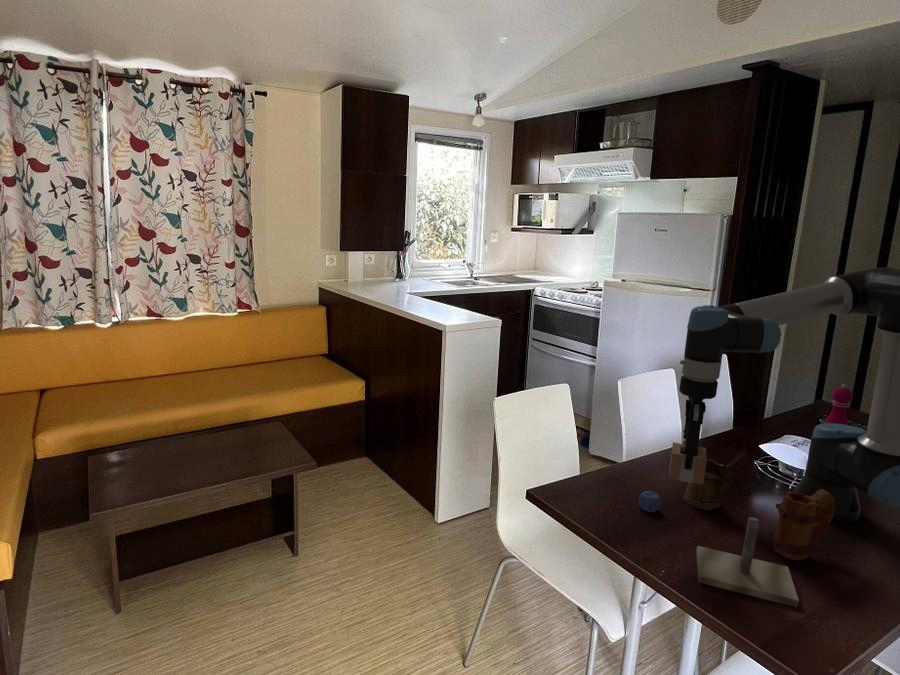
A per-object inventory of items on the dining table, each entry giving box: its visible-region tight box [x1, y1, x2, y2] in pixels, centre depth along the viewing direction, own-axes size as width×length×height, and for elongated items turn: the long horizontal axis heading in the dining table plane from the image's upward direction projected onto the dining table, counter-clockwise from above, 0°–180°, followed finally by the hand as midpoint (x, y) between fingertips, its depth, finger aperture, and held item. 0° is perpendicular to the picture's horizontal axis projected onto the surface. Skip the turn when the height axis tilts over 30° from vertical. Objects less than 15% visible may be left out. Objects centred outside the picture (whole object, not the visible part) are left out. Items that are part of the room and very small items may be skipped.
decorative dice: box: [638, 490, 662, 513], centre depth 146 cm, size 4×4×4 cm
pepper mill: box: [824, 383, 854, 425], centre depth 201 cm, size 7×7×20 cm
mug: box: [769, 489, 835, 561], centre depth 128 cm, size 15×8×15 cm, turn 106°
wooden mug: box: [682, 450, 747, 511], centre depth 147 cm, size 9×14×18 cm, turn 41°
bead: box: [668, 442, 708, 485], centre depth 128 cm, size 7×7×6 cm
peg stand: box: [696, 516, 800, 608], centre depth 118 cm, size 18×12×14 cm, turn 69°
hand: (685, 473), depth 128 cm, fingers closed on bead, 7 cm apart
